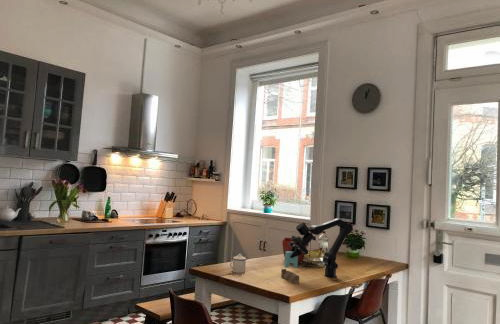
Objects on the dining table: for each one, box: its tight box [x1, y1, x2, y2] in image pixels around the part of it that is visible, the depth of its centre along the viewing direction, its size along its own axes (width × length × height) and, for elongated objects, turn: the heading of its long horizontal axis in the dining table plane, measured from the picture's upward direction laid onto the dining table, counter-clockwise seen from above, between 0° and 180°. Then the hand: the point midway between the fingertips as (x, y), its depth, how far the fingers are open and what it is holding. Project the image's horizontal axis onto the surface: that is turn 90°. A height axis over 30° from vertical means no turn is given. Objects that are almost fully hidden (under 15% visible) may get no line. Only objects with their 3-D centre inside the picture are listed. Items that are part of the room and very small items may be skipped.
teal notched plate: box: [284, 252, 299, 269], centre depth 262 cm, size 8×2×10 cm, turn 111°
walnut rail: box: [280, 268, 300, 285], centre depth 254 cm, size 20×2×5 cm, turn 21°
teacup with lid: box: [229, 253, 247, 274], centre depth 270 cm, size 12×9×12 cm
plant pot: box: [281, 237, 308, 264], centre depth 318 cm, size 19×19×17 cm
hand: (289, 257), depth 261 cm, fingers closed on teal notched plate, 2 cm apart
